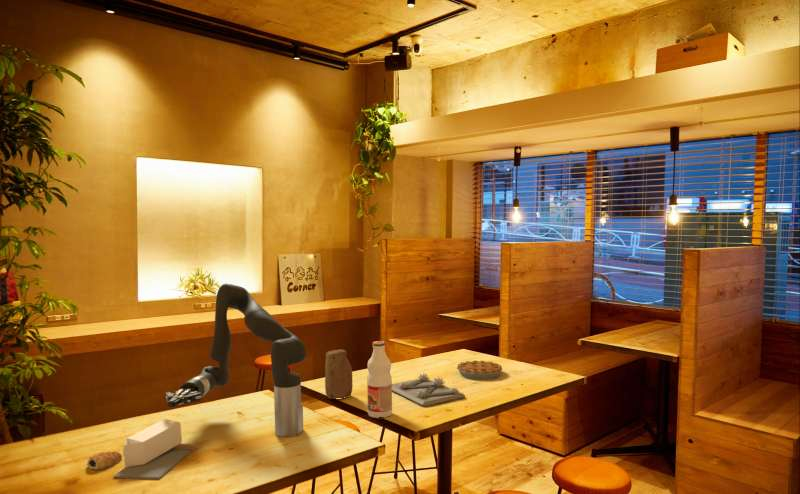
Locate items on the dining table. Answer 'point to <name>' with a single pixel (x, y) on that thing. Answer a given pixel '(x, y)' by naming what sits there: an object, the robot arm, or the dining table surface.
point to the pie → (479, 369)
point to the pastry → (104, 460)
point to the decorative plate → (427, 391)
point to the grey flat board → (157, 464)
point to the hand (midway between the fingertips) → (170, 404)
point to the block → (338, 374)
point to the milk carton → (151, 442)
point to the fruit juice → (379, 382)
